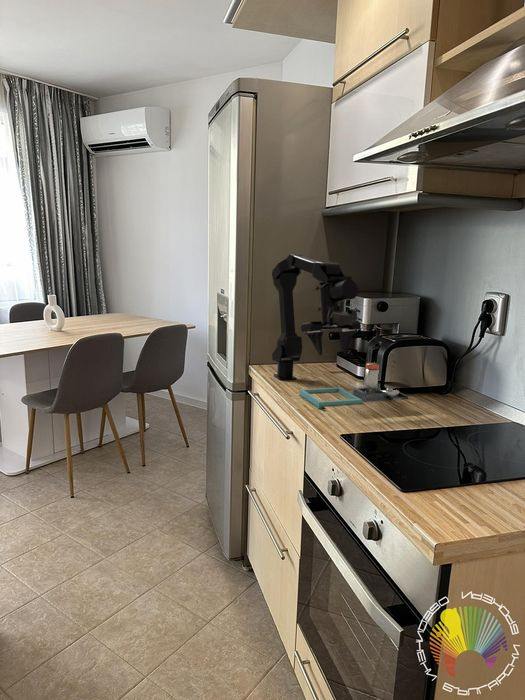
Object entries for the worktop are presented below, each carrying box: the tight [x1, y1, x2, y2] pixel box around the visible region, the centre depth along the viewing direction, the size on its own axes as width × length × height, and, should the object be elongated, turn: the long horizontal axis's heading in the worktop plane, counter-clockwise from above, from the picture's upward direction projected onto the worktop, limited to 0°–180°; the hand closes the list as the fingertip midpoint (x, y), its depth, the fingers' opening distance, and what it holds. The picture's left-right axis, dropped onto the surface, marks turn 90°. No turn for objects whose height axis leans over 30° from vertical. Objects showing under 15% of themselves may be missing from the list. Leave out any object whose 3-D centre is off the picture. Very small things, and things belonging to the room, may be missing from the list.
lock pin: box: [363, 362, 379, 394], centre depth 154 cm, size 4×4×10 cm
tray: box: [298, 387, 363, 410], centre depth 151 cm, size 14×14×2 cm
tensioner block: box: [346, 387, 409, 403], centre depth 156 cm, size 12×16×3 cm
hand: (333, 354), depth 151 cm, fingers open, 9 cm apart
